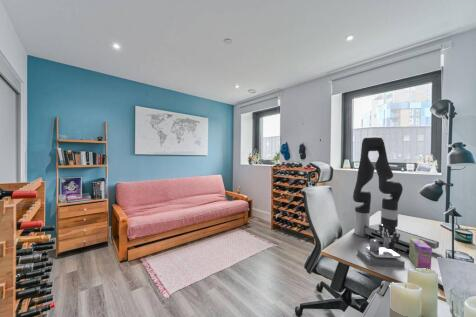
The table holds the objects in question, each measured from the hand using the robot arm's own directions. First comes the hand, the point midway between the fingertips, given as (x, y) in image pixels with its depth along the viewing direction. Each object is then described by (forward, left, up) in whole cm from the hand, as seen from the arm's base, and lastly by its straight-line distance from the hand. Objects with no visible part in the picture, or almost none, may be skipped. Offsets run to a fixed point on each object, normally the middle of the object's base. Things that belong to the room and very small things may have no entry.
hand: (388, 246), depth 112 cm
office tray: (-21, +21, -9) cm, 31 cm away
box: (+2, +15, -8) cm, 18 cm away
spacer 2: (0, 0, -1) cm, 1 cm away
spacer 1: (0, -8, -3) cm, 8 cm away
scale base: (0, -5, -8) cm, 9 cm away
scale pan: (0, -3, -4) cm, 5 cm away
